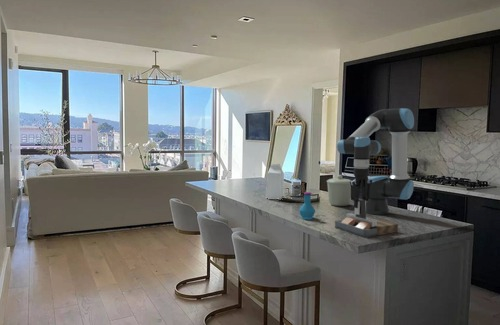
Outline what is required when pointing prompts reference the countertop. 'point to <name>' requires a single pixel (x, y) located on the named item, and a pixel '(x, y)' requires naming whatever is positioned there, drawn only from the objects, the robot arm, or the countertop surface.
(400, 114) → the robot arm
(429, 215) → the countertop surface
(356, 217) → the grey bar
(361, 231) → the tray
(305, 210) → the perfume bottle
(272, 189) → the milk
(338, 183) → the canister
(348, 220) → the tile
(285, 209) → the countertop surface
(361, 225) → the tile
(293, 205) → the countertop surface
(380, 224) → the board
